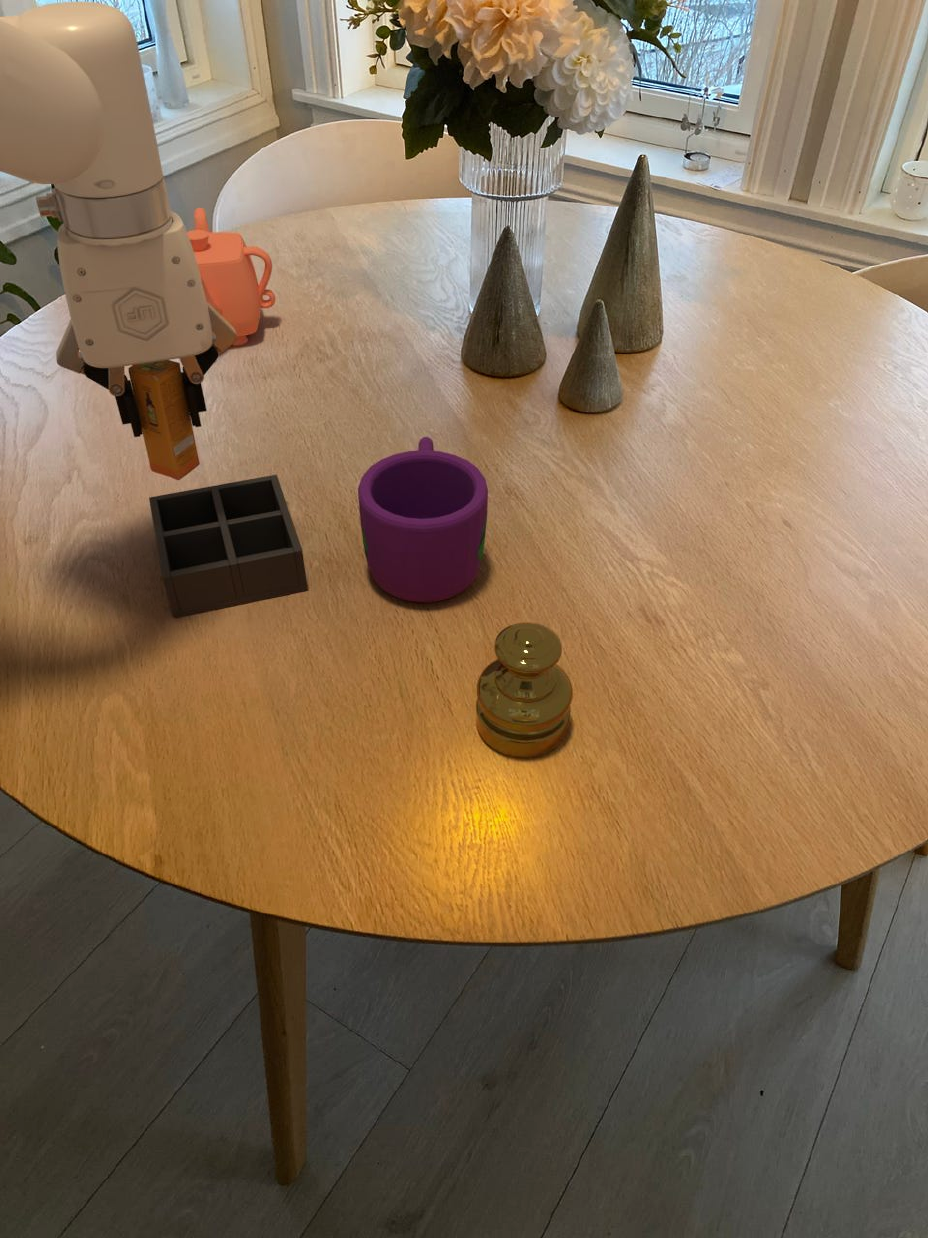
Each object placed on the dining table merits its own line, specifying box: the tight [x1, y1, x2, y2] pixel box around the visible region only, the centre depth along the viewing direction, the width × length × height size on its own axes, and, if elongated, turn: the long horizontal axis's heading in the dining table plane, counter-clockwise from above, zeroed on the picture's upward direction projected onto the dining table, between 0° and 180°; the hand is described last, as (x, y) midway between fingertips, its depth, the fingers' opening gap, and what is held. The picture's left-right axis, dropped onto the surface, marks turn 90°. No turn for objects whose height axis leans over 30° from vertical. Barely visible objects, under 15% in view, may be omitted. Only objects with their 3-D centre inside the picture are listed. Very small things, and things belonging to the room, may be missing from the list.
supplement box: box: [127, 359, 201, 481], centre depth 82 cm, size 3×3×10 cm
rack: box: [148, 474, 308, 619], centre depth 89 cm, size 12×12×5 cm
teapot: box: [187, 207, 276, 347], centre depth 119 cm, size 15×17×13 cm
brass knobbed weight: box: [475, 621, 574, 758], centre depth 73 cm, size 7×7×10 cm
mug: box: [357, 436, 489, 603], centre depth 89 cm, size 17×11×10 cm, turn 0°
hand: (166, 421), depth 82 cm, fingers closed on supplement box, 4 cm apart
